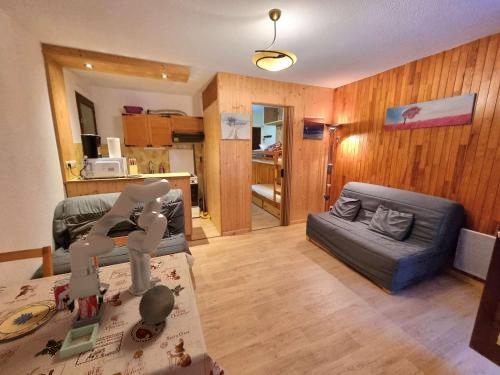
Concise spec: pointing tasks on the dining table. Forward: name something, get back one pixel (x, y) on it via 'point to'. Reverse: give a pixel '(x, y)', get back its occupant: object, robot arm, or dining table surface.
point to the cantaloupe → (156, 304)
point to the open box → (82, 333)
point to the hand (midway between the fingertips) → (87, 307)
